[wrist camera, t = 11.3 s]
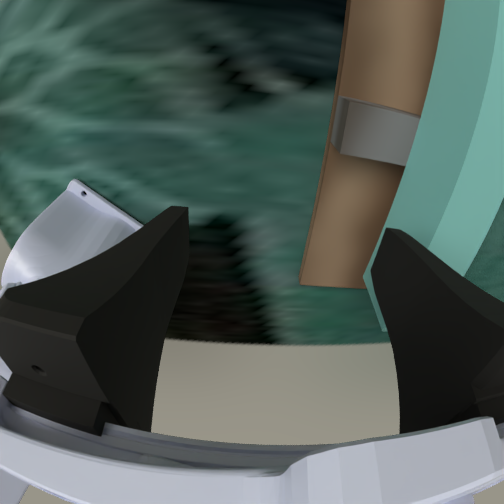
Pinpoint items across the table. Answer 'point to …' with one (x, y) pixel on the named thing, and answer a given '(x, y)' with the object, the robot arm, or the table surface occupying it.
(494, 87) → the batten
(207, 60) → the table surface
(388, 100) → the balance board
